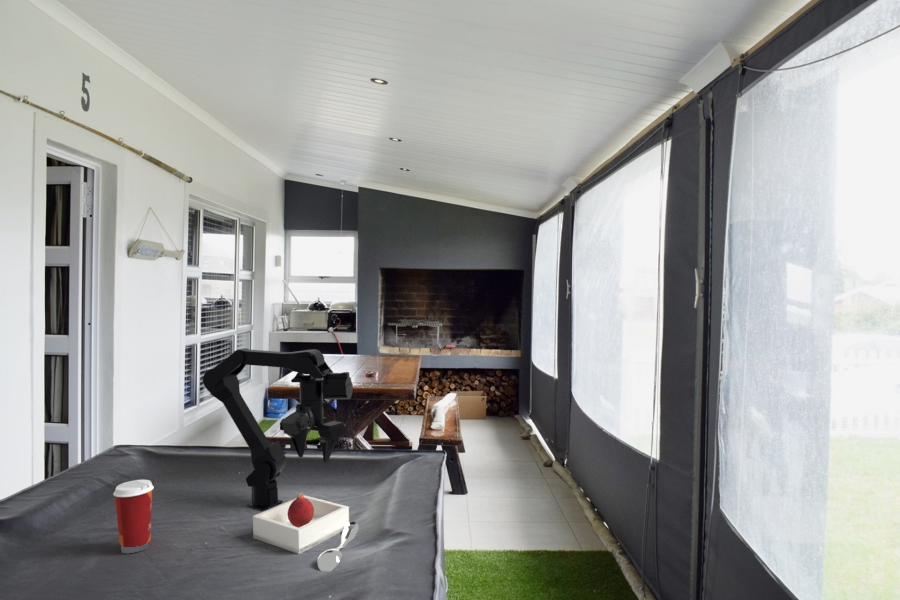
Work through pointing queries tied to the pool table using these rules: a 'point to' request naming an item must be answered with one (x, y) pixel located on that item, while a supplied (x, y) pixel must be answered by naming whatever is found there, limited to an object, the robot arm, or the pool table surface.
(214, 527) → the pool table surface
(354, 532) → the silver metal spoon
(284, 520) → the bin
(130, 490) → the paper cup
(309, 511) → the onion
